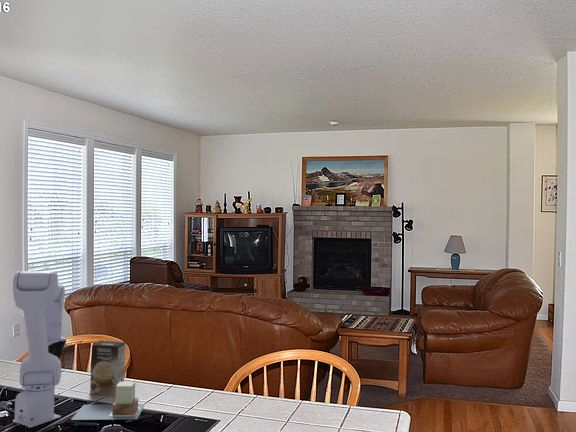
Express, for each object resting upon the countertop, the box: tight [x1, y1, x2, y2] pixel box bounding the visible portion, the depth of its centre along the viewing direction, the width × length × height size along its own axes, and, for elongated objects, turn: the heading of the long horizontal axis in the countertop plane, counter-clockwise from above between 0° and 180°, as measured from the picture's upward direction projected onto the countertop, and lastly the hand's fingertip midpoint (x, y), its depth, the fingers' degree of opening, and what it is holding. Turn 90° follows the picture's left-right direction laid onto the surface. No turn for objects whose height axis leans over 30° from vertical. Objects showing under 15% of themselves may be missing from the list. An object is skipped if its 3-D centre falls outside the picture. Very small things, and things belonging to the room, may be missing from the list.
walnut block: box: [112, 397, 139, 415], centre depth 151 cm, size 6×6×3 cm
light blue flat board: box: [70, 403, 146, 421], centre depth 151 cm, size 18×12×1 cm, turn 95°
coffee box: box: [89, 340, 126, 396], centre depth 169 cm, size 9×6×16 cm
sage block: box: [114, 381, 136, 404], centre depth 151 cm, size 4×4×5 cm
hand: (50, 367), depth 159 cm, fingers open, 7 cm apart
